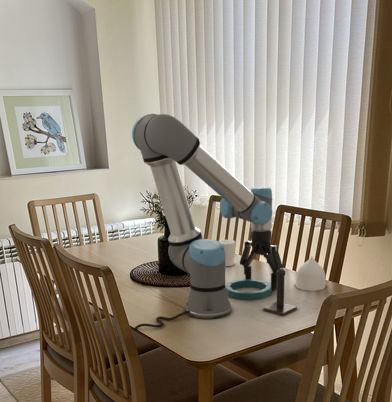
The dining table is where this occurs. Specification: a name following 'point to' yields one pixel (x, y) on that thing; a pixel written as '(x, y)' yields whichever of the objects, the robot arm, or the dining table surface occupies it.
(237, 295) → the ring
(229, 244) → the drinking glass
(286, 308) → the ring holder
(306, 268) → the teardrop
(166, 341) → the dining table surface
